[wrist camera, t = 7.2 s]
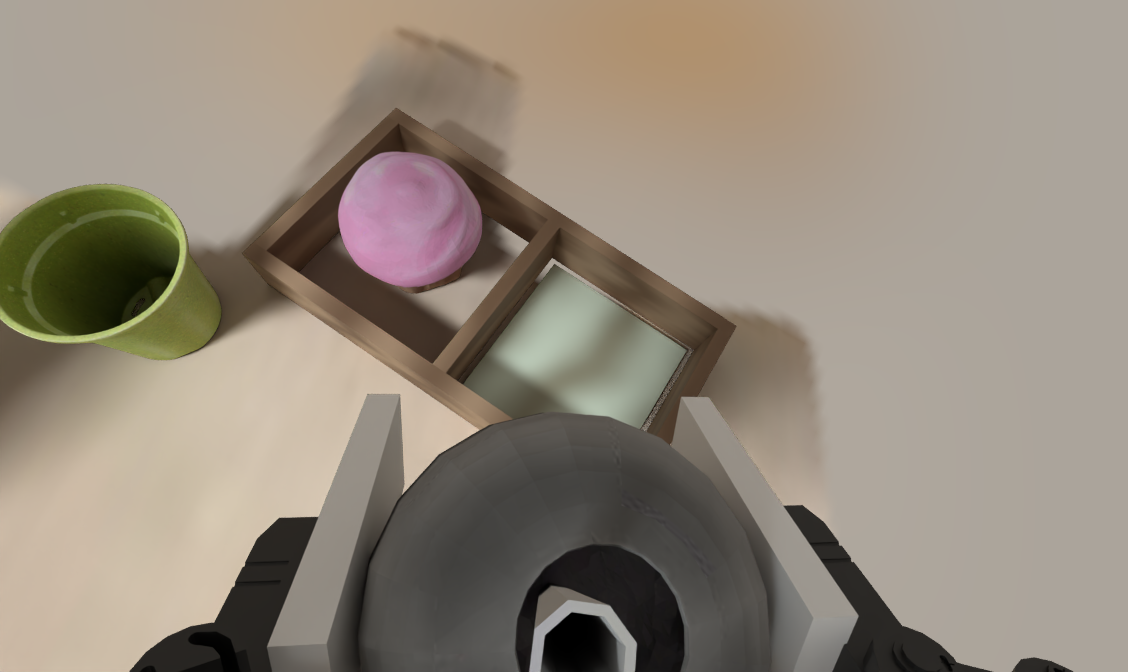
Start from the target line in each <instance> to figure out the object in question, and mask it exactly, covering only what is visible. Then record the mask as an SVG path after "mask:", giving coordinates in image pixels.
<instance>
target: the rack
mask: <svg viewBox="0 0 1128 672" xmlns="http://www.w3.org/2000/svg"><path fill="white" fill-rule="evenodd" d="M385 152H408V153H417V154H422V155H427V156H431V157H434V158H437V159H439V160H441V161H443V162H444V163H446V164H447V165H449V166H450V167H451V168H452V169H453V170H454V171H455V172H456V173H457V174H458V175H459V176H460V177H461V178H462V179H463V180H464V182H465V183H466V185H467V186H468V188H469V189H470V190H471V192H472V193H473V195H474V196H475V198H476V200H477V201H478V204H479V206H480V209H481V212H483V213H484V214H486V215H487V216H489V217H490V218H492V219H493V220H495V221H496V222H498V223H499V224H501V225H503V226H504V227H506V228H507V229H509V230H510V231H512V232H513V233H515V234H516V235H518V236H520V237H521V238H523V239H524V240H526V241H527V242H529V244H528V245H527V247H526V248H525V249H524V250H523V251H522V253H521V254H520V255H519V256H518V258H517V259H516V260H515V261H514V263H513V264H512V265H511V266H510V268H509V269H508V270H507V271H506V273H505V274H504V275H503V276H502V278H501V279H500V280H499V281H498V283H497V284H496V285H495V286H494V288H493V289H492V290H491V291H490V293H489V294H488V295H487V296H486V298H485V299H484V300H483V301H482V303H481V304H480V305H479V306H478V308H477V309H476V310H475V311H474V313H473V314H472V315H471V316H470V318H469V319H468V320H467V321H466V323H465V324H464V325H463V326H462V328H461V329H460V330H459V331H458V333H457V334H456V335H455V336H454V338H453V339H452V340H451V341H450V343H449V344H448V345H447V346H446V348H445V349H444V350H443V351H442V353H441V354H440V355H439V356H438V358H437V359H436V360H435V361H434V363H433V364H432V363H430V362H429V361H427V360H426V359H424V358H423V357H421V356H420V355H419V354H417V353H416V352H414V351H413V350H411V349H410V348H408V347H407V346H405V345H404V344H402V343H401V342H399V341H398V340H397V339H395V338H394V337H392V336H391V335H389V334H388V333H386V332H385V331H383V330H382V329H380V328H379V327H377V326H376V325H375V324H373V323H372V322H370V321H369V320H367V319H366V318H364V317H363V316H361V315H360V314H358V313H357V312H355V311H354V310H353V309H351V308H350V307H348V306H347V305H345V304H344V303H342V302H341V301H339V300H338V299H336V298H335V297H333V296H332V295H331V294H329V293H328V292H326V291H325V290H323V289H322V288H320V287H319V286H317V285H316V284H314V283H313V282H311V281H310V280H309V279H307V278H306V277H304V276H303V275H301V274H300V273H298V272H299V271H300V270H301V269H302V268H303V267H304V266H305V265H306V264H307V263H308V262H309V261H310V260H311V259H312V258H313V257H314V256H315V255H316V254H317V253H318V252H319V251H320V250H321V249H322V248H323V247H324V246H325V245H326V244H327V243H328V242H329V241H330V240H331V239H332V238H333V237H334V236H335V235H336V234H337V233H338V232H339V231H340V227H339V219H338V212H339V205H340V201H341V198H342V195H343V193H344V191H345V189H346V187H347V186H348V184H349V182H350V181H351V179H352V178H353V176H354V174H355V173H356V171H357V170H358V169H359V168H360V167H361V166H362V165H363V164H364V163H365V162H366V161H368V160H369V159H371V158H373V157H374V156H376V155H378V154H380V153H385ZM242 254H243V255H244V256H245V257H246V259H247V260H248V261H249V262H250V263H251V265H252V266H253V267H254V268H255V269H256V270H257V272H258V273H259V274H260V275H261V276H262V278H263V279H264V280H265V281H266V282H267V284H269V285H270V286H272V287H273V288H274V289H276V290H277V291H279V292H280V293H282V294H283V295H285V296H286V297H288V298H289V299H290V300H292V301H293V302H295V303H296V304H298V305H299V306H301V307H302V308H304V309H305V310H306V311H308V312H309V313H311V314H312V315H314V316H315V317H317V318H318V319H320V320H321V321H322V322H324V323H325V324H327V325H328V326H330V327H331V328H333V329H334V330H336V331H337V332H338V333H340V334H341V335H343V336H344V337H346V338H347V339H349V340H350V341H352V342H353V343H354V344H356V345H357V346H359V347H360V348H362V349H363V350H365V351H366V352H368V353H369V354H370V355H372V356H373V357H375V358H376V359H378V360H379V361H381V362H382V363H384V364H385V365H386V366H388V367H389V368H391V369H392V370H394V371H395V372H397V373H398V374H400V375H401V376H402V377H404V378H405V379H407V380H408V381H410V382H411V383H413V384H414V385H416V386H417V387H418V388H420V389H421V390H423V391H424V392H426V393H427V394H429V395H430V396H432V397H433V398H434V399H436V400H437V401H439V402H440V403H442V404H443V405H445V406H446V407H448V408H449V409H450V410H452V411H453V412H455V413H456V414H458V415H459V416H461V417H462V418H464V419H465V420H466V421H468V422H469V423H471V424H472V425H474V426H475V427H477V428H478V429H480V430H481V429H483V428H485V427H486V426H488V425H491V424H495V423H499V422H504V421H508V420H512V419H517V418H521V417H525V416H529V415H534V414H538V413H542V412H543V413H546V412H562V413H574V414H585V415H597V416H609V417H611V418H614V419H616V420H619V421H621V422H623V423H626V424H628V425H631V426H633V427H636V428H638V429H641V427H642V425H643V424H644V422H645V420H646V418H647V417H648V415H649V413H650V412H651V410H652V408H653V407H654V405H655V403H656V402H657V400H658V398H659V397H660V395H661V393H662V391H663V390H664V388H665V386H666V385H667V383H668V381H669V380H670V378H671V376H672V375H673V373H674V371H675V370H676V368H677V366H678V364H679V363H680V361H681V359H682V358H683V356H684V354H685V353H686V351H687V350H686V349H684V348H683V347H681V346H680V345H678V344H677V343H675V342H674V341H672V340H671V339H669V338H667V337H666V336H664V335H663V334H661V333H660V332H658V331H657V330H655V329H654V328H652V327H651V326H649V325H647V324H646V323H644V322H643V321H641V320H640V319H638V318H637V317H635V316H634V315H632V314H631V313H629V312H628V311H626V310H624V309H623V308H621V307H620V306H618V305H617V304H615V303H614V302H612V301H611V300H609V299H608V298H606V297H604V296H603V295H601V294H600V293H598V292H597V291H595V290H594V289H592V288H591V287H589V286H588V285H586V284H584V283H583V282H581V281H580V280H578V279H577V278H575V277H574V276H572V275H570V274H569V273H567V272H566V271H564V270H563V269H561V268H560V267H558V266H557V265H555V264H554V265H553V267H552V268H551V269H550V270H549V272H548V273H547V274H546V276H545V277H544V278H543V280H542V281H541V282H540V284H539V285H538V286H537V287H536V289H535V290H534V291H533V293H532V294H531V295H530V297H529V298H528V299H527V301H526V302H525V303H524V305H523V306H522V307H521V309H520V310H519V311H518V312H517V314H516V315H515V316H514V318H513V319H512V320H511V322H510V323H509V324H508V326H507V327H506V328H505V330H504V331H503V332H502V333H501V335H500V336H499V337H498V339H497V340H496V341H495V343H494V344H493V345H492V347H491V348H490V349H489V351H488V352H487V353H486V354H485V356H484V357H483V358H482V360H481V361H480V362H479V364H478V365H477V366H476V368H475V369H474V370H473V372H472V373H471V374H470V375H469V377H468V378H467V379H466V381H465V382H464V383H463V384H461V383H460V382H458V380H459V378H460V377H461V376H462V374H463V373H464V372H465V370H466V369H467V368H468V367H469V365H470V364H471V363H472V361H473V360H474V359H475V357H476V356H477V355H478V354H479V352H480V351H481V350H482V348H483V347H484V346H485V344H486V343H487V342H488V340H489V339H490V338H491V337H492V335H493V334H494V333H495V331H496V330H497V329H498V327H499V326H500V325H501V324H502V322H503V321H504V320H505V318H506V317H507V316H508V314H509V313H510V312H511V311H512V309H513V308H514V307H515V305H516V304H517V303H518V301H519V300H520V299H521V298H522V296H523V295H524V294H525V292H526V291H527V290H528V288H529V287H530V286H531V285H532V283H533V282H534V281H535V279H536V278H537V277H538V275H539V274H540V273H541V271H542V270H543V269H544V268H545V266H546V265H547V264H548V262H549V261H550V260H551V258H553V259H555V260H556V261H558V262H560V263H561V264H563V265H564V266H566V267H567V268H569V269H570V270H572V271H574V272H575V273H576V274H578V275H580V276H581V277H583V278H584V279H586V280H587V281H589V282H590V283H592V284H593V285H595V286H596V287H598V288H600V289H601V290H603V291H604V292H606V293H607V294H609V295H610V296H612V297H613V298H615V299H616V300H618V301H620V302H621V303H623V304H624V305H626V306H627V307H629V308H630V309H632V310H633V311H635V312H636V313H638V314H640V315H641V316H643V317H644V318H646V319H647V320H649V321H650V322H652V323H653V324H655V325H656V326H658V327H660V328H661V329H663V330H664V331H666V332H667V333H669V334H670V335H672V336H673V337H675V338H677V339H678V340H680V341H681V342H683V343H684V344H686V345H687V346H689V347H690V348H692V349H693V350H694V351H693V353H692V355H691V356H690V358H689V360H688V361H687V363H686V365H685V367H684V368H683V370H682V372H681V373H680V375H679V377H678V378H677V380H676V382H675V384H674V385H673V387H672V389H671V390H670V392H669V394H668V396H667V397H666V399H665V401H664V402H663V404H662V406H661V407H660V409H659V411H658V413H657V414H656V416H655V418H654V419H653V421H652V423H651V425H650V426H649V428H648V430H647V431H646V432H648V433H650V434H652V435H655V436H657V437H660V438H662V439H663V440H664V441H665V442H666V443H668V444H669V445H670V444H671V442H672V440H673V436H674V431H675V426H676V421H677V416H678V411H679V405H680V400H681V397H697V396H698V394H699V392H700V390H701V389H702V387H703V385H704V383H705V382H706V380H707V378H708V376H709V374H710V373H711V371H712V369H713V367H714V365H715V364H716V362H717V360H718V358H719V357H720V355H721V353H722V351H723V349H724V348H725V346H726V344H727V342H728V341H729V339H730V337H731V335H732V333H733V332H734V330H735V328H736V325H734V324H733V323H731V322H730V321H728V320H727V319H725V318H723V317H722V316H720V315H719V314H717V313H716V312H714V311H712V310H711V309H709V308H708V307H706V306H705V305H703V304H702V303H700V302H698V301H697V300H695V299H694V298H692V297H691V296H689V295H688V294H686V293H684V292H683V291H681V290H680V289H678V288H677V287H675V286H673V285H672V284H670V283H669V282H667V281H666V280H664V279H663V278H661V277H659V276H658V275H656V274H655V273H653V272H652V271H650V270H649V269H647V268H645V267H644V266H642V265H641V264H639V263H638V262H636V261H634V260H633V259H631V258H630V257H628V256H627V255H625V254H624V253H622V252H620V251H619V250H617V249H616V248H614V247H613V246H611V245H610V244H608V243H606V242H605V241H603V240H602V239H600V238H599V237H597V236H595V235H594V234H592V233H591V232H589V231H588V230H586V229H585V228H583V227H581V226H580V225H578V224H577V223H575V222H573V221H572V220H571V219H569V218H567V217H566V216H564V215H563V214H561V213H560V212H558V211H557V210H555V209H553V208H552V207H550V206H549V205H547V204H546V203H544V202H542V201H541V200H539V199H538V198H536V197H534V196H533V195H531V194H530V193H528V192H527V191H525V190H524V189H522V188H521V187H519V186H518V185H516V184H514V183H513V182H511V181H510V180H508V179H507V178H505V177H504V176H502V175H500V174H499V173H497V172H496V171H494V170H493V169H491V168H489V167H488V166H486V165H485V164H483V163H482V162H480V161H479V160H477V159H475V158H474V157H472V156H471V155H469V154H468V153H466V152H465V151H463V150H461V149H460V148H458V147H457V146H455V145H454V144H452V143H450V142H449V141H447V140H446V139H444V138H443V137H441V136H440V135H438V134H436V133H435V132H433V131H432V130H430V129H429V128H427V127H426V126H424V125H422V124H421V123H419V122H418V121H416V120H415V119H413V118H411V117H410V116H408V115H407V114H405V113H404V112H402V111H401V110H399V109H397V108H395V109H394V110H393V111H392V112H391V113H390V114H389V115H388V116H387V117H386V118H385V119H384V120H383V121H382V122H381V123H380V124H378V125H377V126H376V127H375V128H374V129H373V130H372V131H371V132H370V133H369V134H368V135H367V136H366V137H365V138H364V139H363V140H362V141H360V142H359V143H358V144H357V145H356V146H355V147H354V148H353V149H352V150H351V151H350V152H349V153H348V154H347V155H346V156H345V157H344V158H342V159H341V160H340V161H339V162H338V163H337V164H336V165H335V166H334V167H333V168H332V169H331V170H330V171H329V172H328V173H327V174H325V175H324V176H323V177H322V178H321V179H320V180H319V181H318V182H317V183H316V184H315V185H314V186H313V187H312V188H311V189H310V190H309V191H307V192H306V193H305V194H304V195H303V196H302V197H301V198H300V199H299V200H298V201H297V202H296V203H295V204H294V205H293V206H292V207H290V208H289V209H288V210H287V211H286V212H285V213H284V214H283V215H282V216H281V217H280V218H279V219H278V220H277V221H276V222H275V223H274V224H272V225H271V226H270V227H269V228H268V229H267V230H266V231H265V232H264V233H263V234H262V235H261V236H260V237H259V238H258V239H257V240H256V241H254V242H253V243H252V244H251V245H250V246H249V247H248V248H247V249H246V250H245V251H244V252H243V253H242Z"/></svg>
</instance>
